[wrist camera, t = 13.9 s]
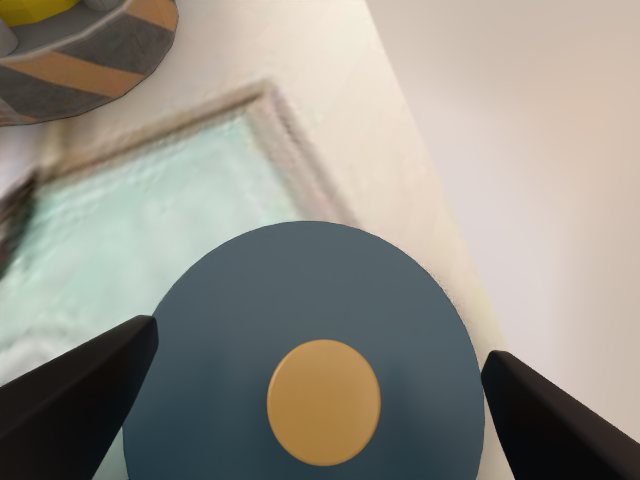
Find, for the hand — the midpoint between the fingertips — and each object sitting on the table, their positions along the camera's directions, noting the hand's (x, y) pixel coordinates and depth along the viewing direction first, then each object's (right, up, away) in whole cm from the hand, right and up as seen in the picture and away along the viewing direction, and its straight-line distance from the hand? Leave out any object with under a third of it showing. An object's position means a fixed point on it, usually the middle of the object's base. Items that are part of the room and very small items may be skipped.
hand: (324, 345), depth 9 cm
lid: (-1, -3, +4) cm, 5 cm away
